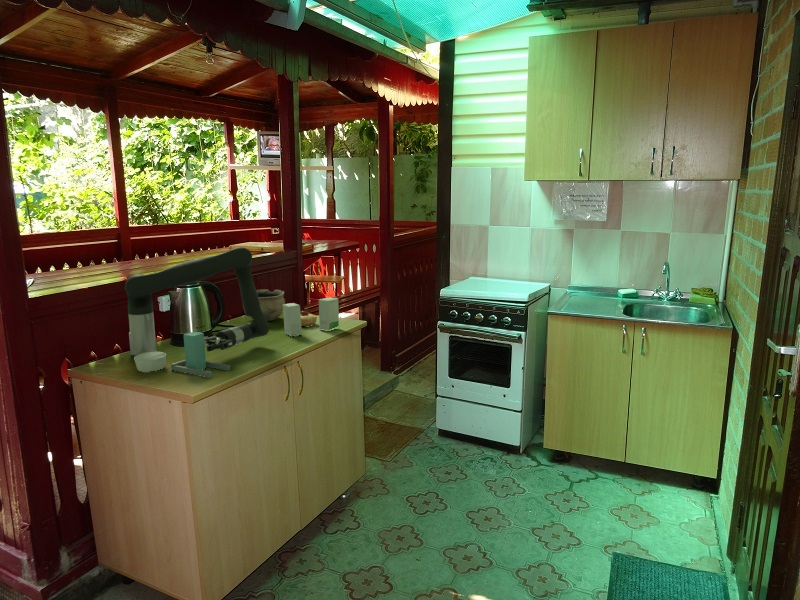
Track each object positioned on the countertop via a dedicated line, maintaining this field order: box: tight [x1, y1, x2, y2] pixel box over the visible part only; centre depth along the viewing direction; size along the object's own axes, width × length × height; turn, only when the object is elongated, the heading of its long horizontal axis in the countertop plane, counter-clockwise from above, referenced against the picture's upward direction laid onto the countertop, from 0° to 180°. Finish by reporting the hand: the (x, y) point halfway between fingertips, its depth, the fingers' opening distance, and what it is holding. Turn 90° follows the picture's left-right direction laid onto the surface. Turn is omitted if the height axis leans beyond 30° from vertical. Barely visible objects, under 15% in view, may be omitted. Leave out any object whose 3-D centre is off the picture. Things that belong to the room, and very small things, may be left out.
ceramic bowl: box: [242, 289, 286, 322], centre depth 279 cm, size 22×22×15 cm
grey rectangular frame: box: [170, 359, 231, 379], centre depth 199 cm, size 19×10×2 cm, turn 64°
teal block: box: [183, 331, 207, 370], centre depth 199 cm, size 5×5×14 cm
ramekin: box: [133, 351, 167, 373], centre depth 200 cm, size 11×11×5 cm
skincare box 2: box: [318, 297, 340, 330], centre depth 260 cm, size 8×7×16 cm
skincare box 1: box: [282, 302, 303, 338], centre depth 250 cm, size 8×6×15 cm
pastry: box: [300, 307, 318, 327], centre depth 269 cm, size 12×12×9 cm
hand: (199, 347), depth 200 cm, fingers open, 8 cm apart
